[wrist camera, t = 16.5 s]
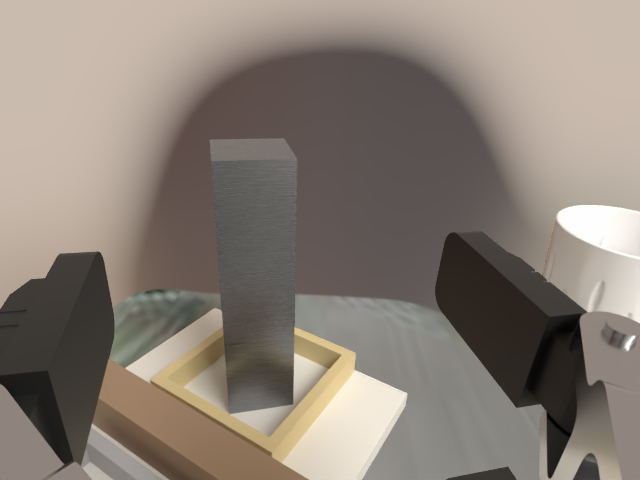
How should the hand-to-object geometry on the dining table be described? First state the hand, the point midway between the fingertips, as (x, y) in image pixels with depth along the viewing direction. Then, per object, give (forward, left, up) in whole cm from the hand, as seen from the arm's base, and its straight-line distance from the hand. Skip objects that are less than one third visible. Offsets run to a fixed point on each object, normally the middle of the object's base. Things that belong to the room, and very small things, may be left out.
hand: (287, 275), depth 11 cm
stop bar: (-7, +8, -14) cm, 18 cm away
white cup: (+9, +22, -15) cm, 28 cm away
